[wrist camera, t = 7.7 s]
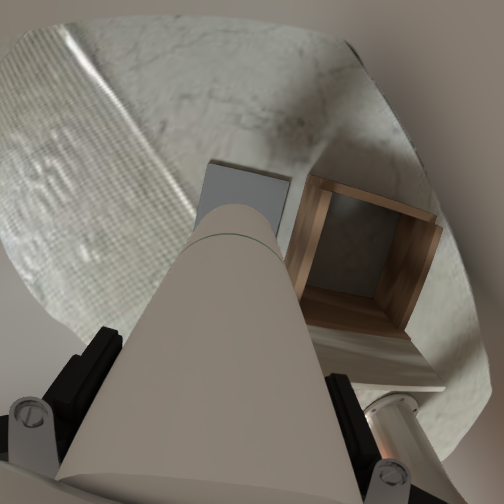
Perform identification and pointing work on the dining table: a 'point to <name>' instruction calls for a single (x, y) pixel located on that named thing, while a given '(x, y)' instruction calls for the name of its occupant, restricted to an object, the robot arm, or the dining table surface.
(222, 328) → the cylindrical container
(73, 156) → the dining table surface
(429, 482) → the robot arm
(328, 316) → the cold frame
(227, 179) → the slate mat
